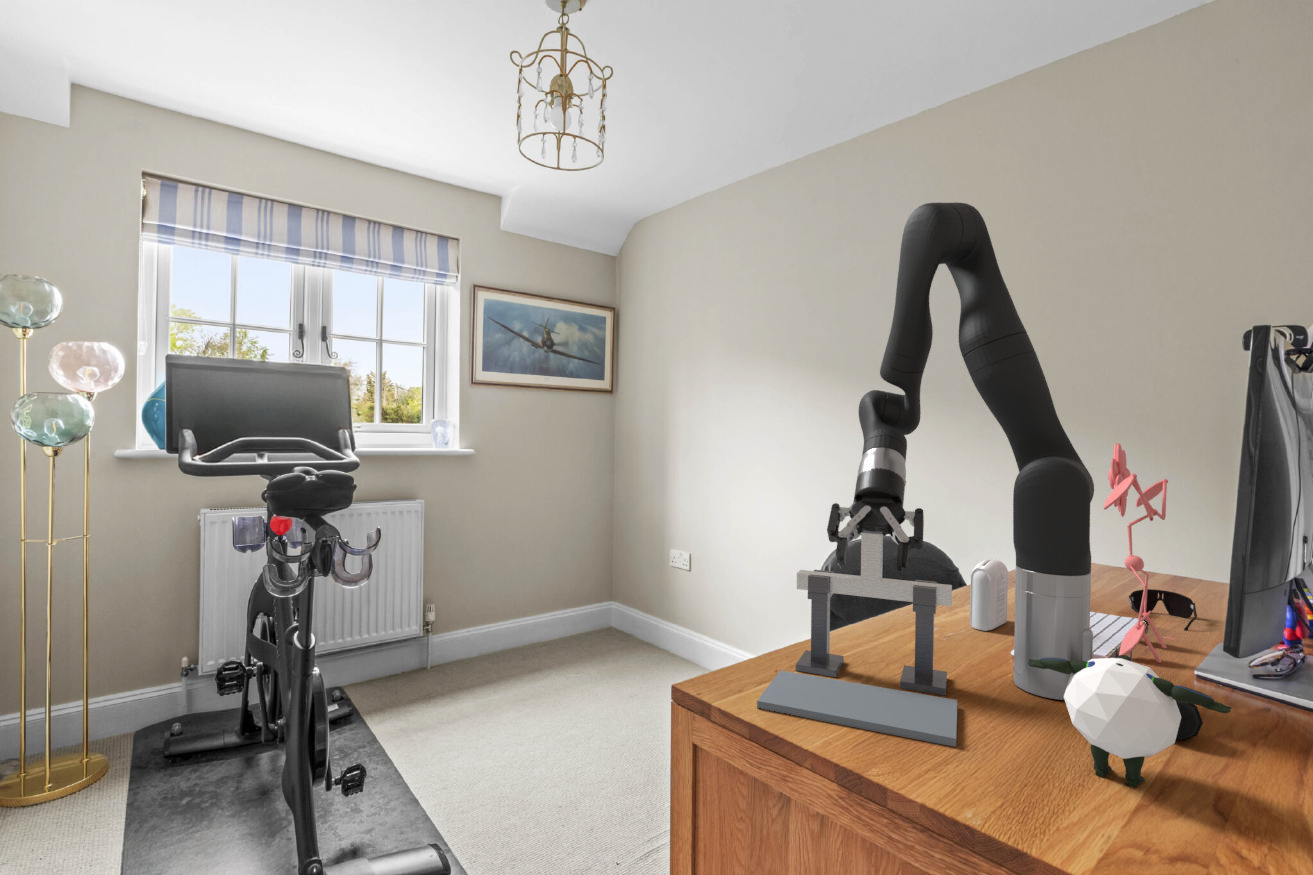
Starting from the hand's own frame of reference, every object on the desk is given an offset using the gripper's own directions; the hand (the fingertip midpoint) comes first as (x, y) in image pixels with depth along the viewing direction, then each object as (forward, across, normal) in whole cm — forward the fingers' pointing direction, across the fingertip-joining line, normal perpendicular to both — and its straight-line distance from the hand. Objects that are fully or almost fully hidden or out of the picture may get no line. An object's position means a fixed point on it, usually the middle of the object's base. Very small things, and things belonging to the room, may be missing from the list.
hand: (870, 565), depth 98 cm
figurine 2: (+24, +28, 0) cm, 37 cm away
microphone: (+10, +37, +15) cm, 41 cm away
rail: (+2, 0, +4) cm, 5 cm away
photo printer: (-14, +17, +38) cm, 44 cm away
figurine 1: (-12, +36, +36) cm, 52 cm away
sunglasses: (-28, +48, +52) cm, 76 cm away
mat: (+20, 0, +4) cm, 20 cm away
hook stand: (+11, 0, +13) cm, 17 cm away
